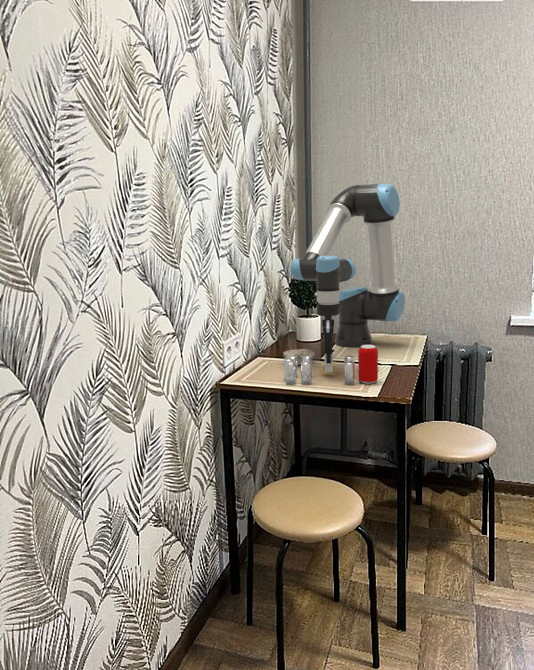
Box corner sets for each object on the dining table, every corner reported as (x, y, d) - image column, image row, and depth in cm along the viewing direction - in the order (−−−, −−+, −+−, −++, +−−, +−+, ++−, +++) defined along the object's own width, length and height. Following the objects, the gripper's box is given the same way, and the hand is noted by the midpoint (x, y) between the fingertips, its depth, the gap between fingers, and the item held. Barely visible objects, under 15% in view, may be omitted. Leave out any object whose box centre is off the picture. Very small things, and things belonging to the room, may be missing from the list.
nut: (321, 371, 215) (321, 361, 215) (336, 371, 215) (335, 361, 214) (321, 375, 210) (321, 365, 210) (335, 375, 210) (335, 365, 209)
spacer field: (285, 375, 211) (285, 355, 210) (369, 375, 208) (369, 355, 206) (282, 384, 201) (282, 363, 199) (370, 385, 197) (370, 363, 196)
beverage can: (357, 379, 204) (357, 344, 201) (376, 379, 203) (376, 343, 201) (359, 384, 198) (359, 348, 195) (379, 384, 197) (379, 348, 195)
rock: (283, 368, 222) (283, 352, 221) (285, 360, 232) (284, 345, 231) (314, 368, 221) (314, 352, 220) (314, 360, 232) (314, 345, 230)
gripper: (317, 300, 211) (318, 366, 216) (315, 306, 198) (316, 376, 203) (339, 299, 210) (340, 366, 215) (339, 305, 198) (339, 376, 202)
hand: (328, 371), depth 209 cm, fingers closed
